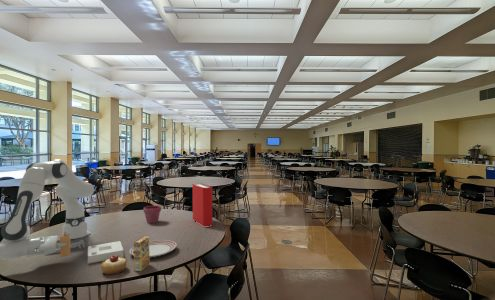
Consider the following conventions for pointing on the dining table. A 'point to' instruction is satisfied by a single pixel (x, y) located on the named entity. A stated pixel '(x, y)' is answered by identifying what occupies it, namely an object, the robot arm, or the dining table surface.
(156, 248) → the dinner plate
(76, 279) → the dining table surface
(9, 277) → the dining table surface
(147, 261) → the candy box
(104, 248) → the housing
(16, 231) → the robot arm
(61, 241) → the block
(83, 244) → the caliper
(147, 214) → the plant pot
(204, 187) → the book
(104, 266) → the pastry
